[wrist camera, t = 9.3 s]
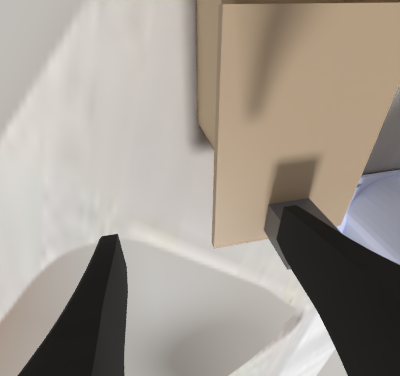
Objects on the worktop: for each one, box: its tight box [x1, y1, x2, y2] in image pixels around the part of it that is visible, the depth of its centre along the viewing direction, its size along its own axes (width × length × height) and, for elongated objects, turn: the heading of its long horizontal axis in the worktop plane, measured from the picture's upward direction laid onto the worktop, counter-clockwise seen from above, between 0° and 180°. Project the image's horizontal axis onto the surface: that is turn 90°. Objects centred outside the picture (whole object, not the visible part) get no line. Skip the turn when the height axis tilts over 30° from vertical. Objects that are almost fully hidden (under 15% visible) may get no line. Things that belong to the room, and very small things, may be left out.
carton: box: [196, 0, 400, 151], centre depth 14 cm, size 14×10×5 cm
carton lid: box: [212, 2, 400, 269], centre depth 14 cm, size 14×10×4 cm
